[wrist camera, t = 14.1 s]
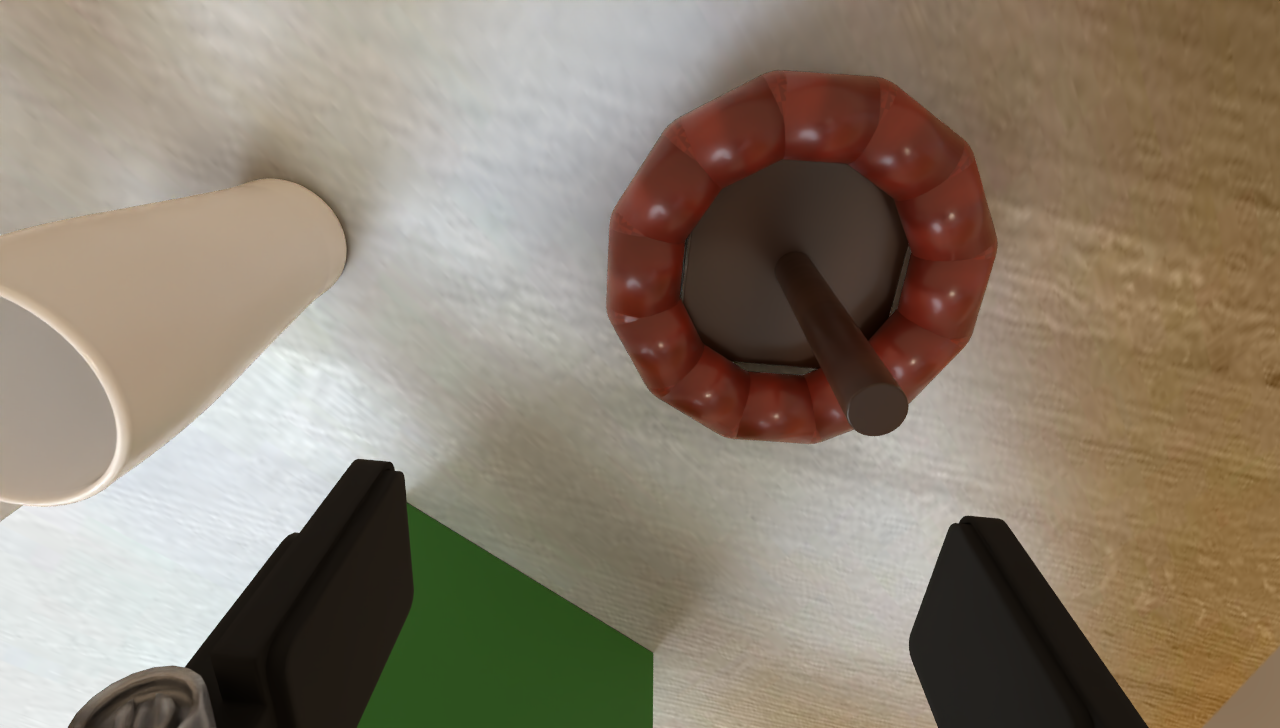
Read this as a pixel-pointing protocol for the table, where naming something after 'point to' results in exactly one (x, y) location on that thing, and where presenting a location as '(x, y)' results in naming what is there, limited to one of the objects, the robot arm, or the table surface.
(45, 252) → the drinking glass
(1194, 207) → the table surface
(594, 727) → the hardback book
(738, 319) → the peg stand
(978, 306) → the ring
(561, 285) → the table surface
